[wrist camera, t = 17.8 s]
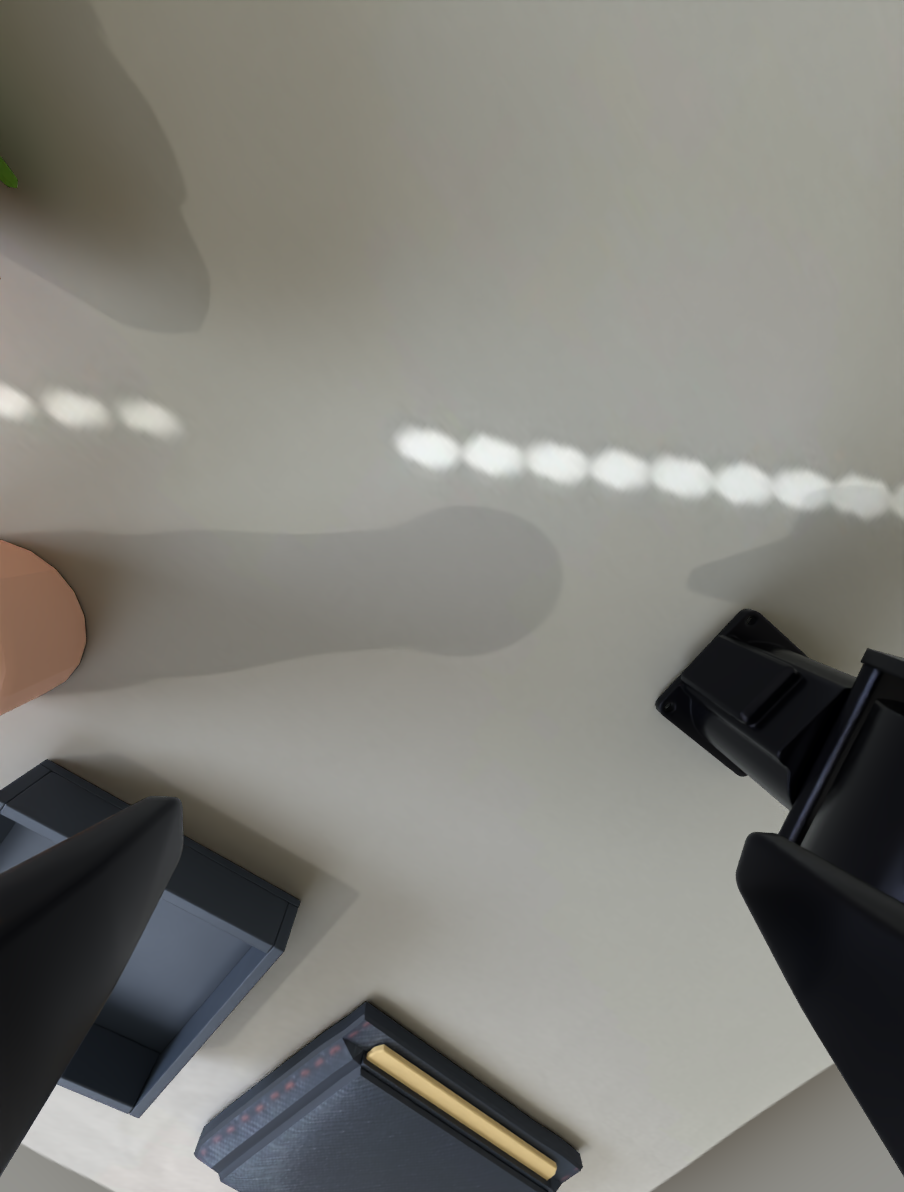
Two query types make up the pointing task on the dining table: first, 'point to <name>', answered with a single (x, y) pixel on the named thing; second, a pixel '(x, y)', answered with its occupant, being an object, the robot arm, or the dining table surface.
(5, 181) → the corn
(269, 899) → the tray
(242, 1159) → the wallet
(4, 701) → the pepper shaker
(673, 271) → the dining table surface
